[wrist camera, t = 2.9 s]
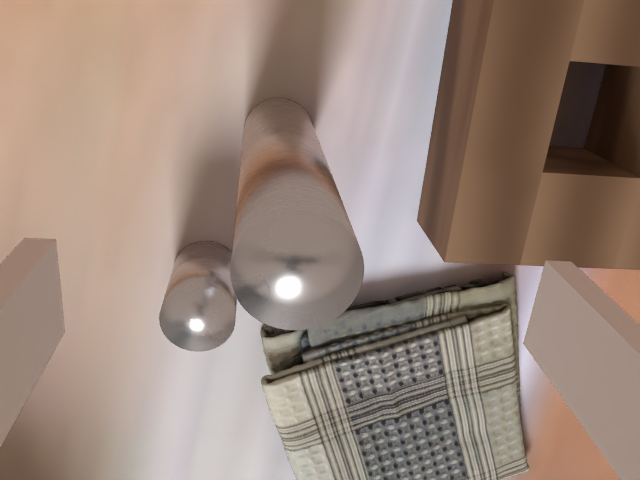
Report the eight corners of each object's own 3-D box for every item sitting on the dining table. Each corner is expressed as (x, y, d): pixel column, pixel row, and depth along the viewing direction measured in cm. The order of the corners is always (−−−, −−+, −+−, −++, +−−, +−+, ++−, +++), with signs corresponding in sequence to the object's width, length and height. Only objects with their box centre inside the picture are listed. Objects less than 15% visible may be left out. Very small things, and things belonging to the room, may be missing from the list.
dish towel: (526, 460, 47) (544, 492, 44) (308, 513, 47) (311, 548, 44) (507, 256, 39) (527, 278, 36) (247, 319, 39) (246, 346, 36)
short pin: (174, 297, 38) (160, 350, 32) (173, 239, 36) (158, 285, 31) (237, 299, 38) (234, 352, 33) (239, 242, 37) (236, 288, 31)
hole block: (416, 220, 37) (444, 262, 32) (463, -64, 31) (507, -74, 25) (623, 230, 39) (683, 271, 33) (707, -37, 33) (798, -41, 27)
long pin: (242, 164, 35) (228, 328, 18) (245, 95, 33) (232, 206, 17) (310, 168, 35) (356, 332, 19) (316, 100, 34) (371, 213, 17)
